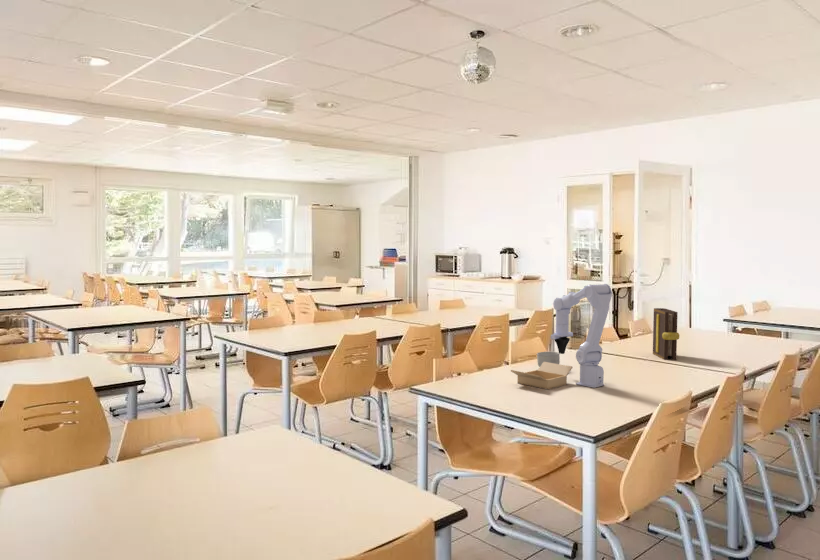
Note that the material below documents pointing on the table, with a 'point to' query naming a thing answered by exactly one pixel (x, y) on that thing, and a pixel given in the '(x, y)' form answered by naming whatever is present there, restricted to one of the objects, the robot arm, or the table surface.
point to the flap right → (555, 368)
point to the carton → (551, 382)
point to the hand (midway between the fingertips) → (561, 353)
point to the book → (665, 333)
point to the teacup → (548, 357)
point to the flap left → (528, 375)
